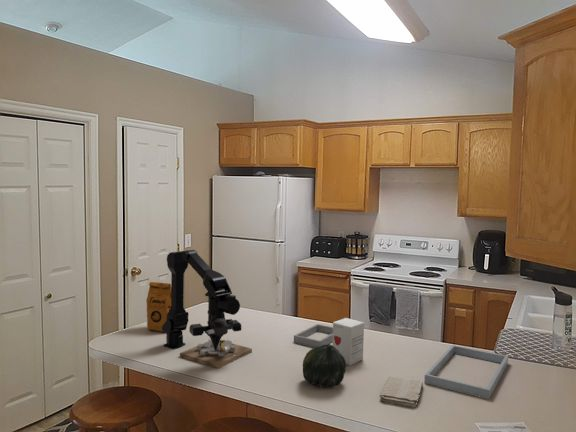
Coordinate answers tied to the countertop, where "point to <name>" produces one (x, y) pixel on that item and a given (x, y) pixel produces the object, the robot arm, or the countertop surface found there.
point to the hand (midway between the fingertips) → (215, 349)
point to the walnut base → (215, 360)
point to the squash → (324, 366)
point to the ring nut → (221, 350)
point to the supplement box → (349, 339)
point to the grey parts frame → (301, 336)
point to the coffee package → (158, 305)
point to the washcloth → (401, 391)
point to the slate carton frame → (463, 386)
